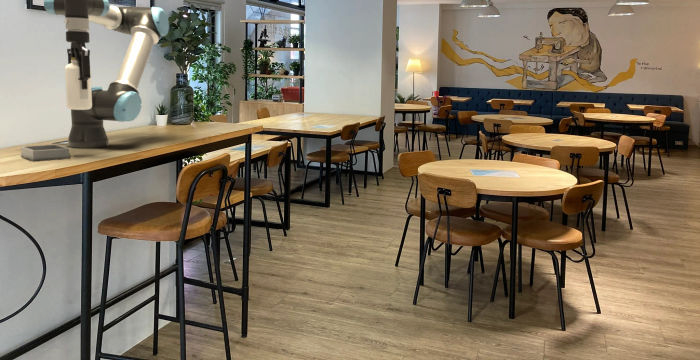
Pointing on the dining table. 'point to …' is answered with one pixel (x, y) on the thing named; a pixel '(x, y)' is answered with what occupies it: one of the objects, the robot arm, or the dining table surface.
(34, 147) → the grey square tray
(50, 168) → the dining table surface
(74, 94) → the potion bottle
